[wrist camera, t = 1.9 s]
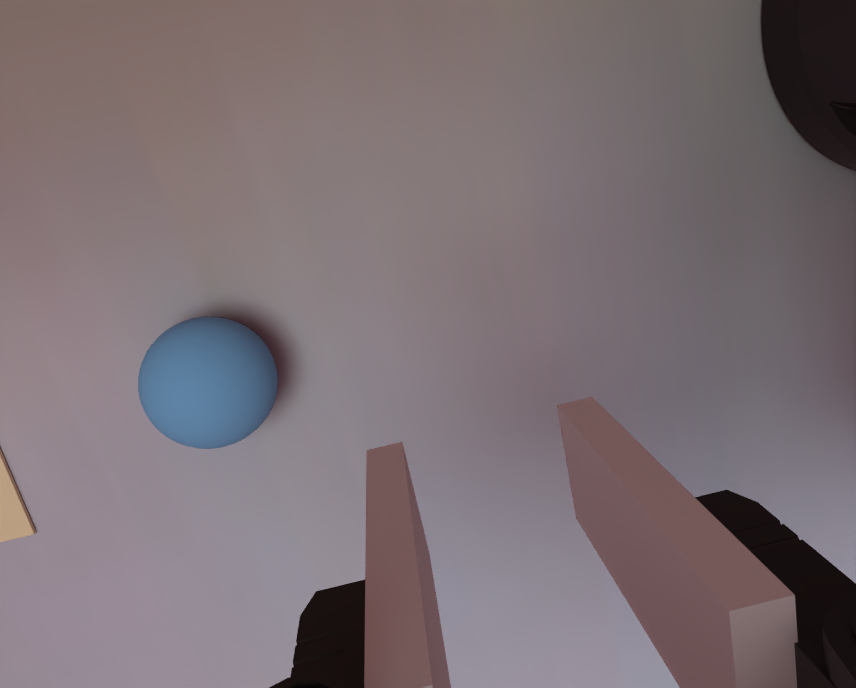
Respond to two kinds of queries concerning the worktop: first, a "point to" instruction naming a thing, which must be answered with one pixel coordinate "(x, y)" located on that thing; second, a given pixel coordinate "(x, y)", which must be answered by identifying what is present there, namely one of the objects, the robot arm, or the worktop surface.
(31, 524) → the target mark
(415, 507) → the robot arm
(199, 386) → the ball
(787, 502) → the worktop surface
